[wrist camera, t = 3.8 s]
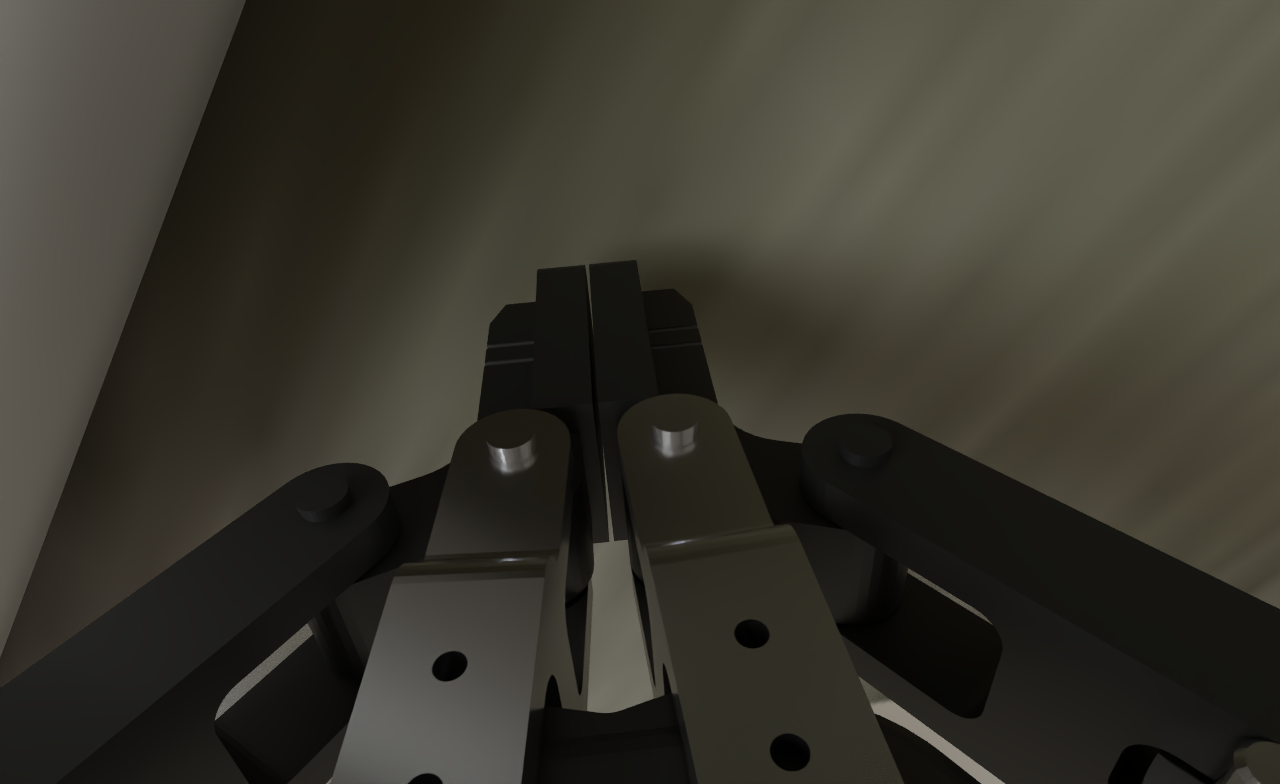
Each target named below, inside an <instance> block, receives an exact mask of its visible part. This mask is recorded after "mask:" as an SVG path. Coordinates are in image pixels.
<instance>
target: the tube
mask: <svg viewBox="0 0 1280 784" xmlns="http://www.w3.org/2000/svg"><path fill="white" fill-rule="evenodd" d="M245 2H246V0H0V657H1V655H2V652H3V649H4V647H5V644H6V641H7V639H8V636H9V633H10V631H11V628H12V625H13V623H14V620H15V617H16V615H17V612H18V609H19V606H20V604H21V601H22V598H23V596H24V593H25V590H26V588H27V585H28V582H29V580H30V577H31V574H32V572H33V569H34V566H35V564H36V561H37V558H38V556H39V553H40V550H41V548H42V545H43V542H44V540H45V537H46V534H47V532H48V529H49V526H50V524H51V521H52V518H53V516H54V513H55V510H56V507H57V505H58V502H59V499H60V497H61V494H62V491H63V489H64V486H65V483H66V481H67V478H68V475H69V473H70V470H71V467H72V465H73V462H74V459H75V457H76V454H77V451H78V449H79V446H80V443H81V441H82V438H83V435H84V433H85V430H86V427H87V425H88V422H89V419H90V416H91V414H92V411H93V408H94V406H95V403H96V400H97V398H98V395H99V392H100V390H101V387H102V384H103V382H104V379H105V376H106V374H107V371H108V368H109V366H110V363H111V360H112V358H113V355H114V352H115V350H116V347H117V344H118V342H119V339H120V336H121V334H122V331H123V328H124V326H125V323H126V320H127V317H128V315H129V312H130V309H131V307H132V304H133V301H134V299H135V296H136V293H137V291H138V288H139V285H140V283H141V280H142V277H143V275H144V272H145V269H146V267H147V264H148V261H149V259H150V256H151V253H152V251H153V248H154V245H155V243H156V240H157V237H158V235H159V232H160V229H161V226H162V224H163V221H164V218H165V216H166V213H167V210H168V208H169V205H170V202H171V200H172V197H173V194H174V192H175V189H176V186H177V184H178V181H179V178H180V176H181V173H182V170H183V168H184V165H185V162H186V160H187V157H188V154H189V152H190V149H191V146H192V144H193V141H194V138H195V136H196V133H197V130H198V127H199V125H200V122H201V119H202V117H203V114H204V111H205V109H206V106H207V103H208V101H209V98H210V95H211V93H212V90H213V87H214V85H215V82H216V79H217V77H218V74H219V71H220V69H221V66H222V63H223V61H224V58H225V55H226V53H227V50H228V47H229V45H230V42H231V39H232V37H233V34H234V31H235V28H236V26H237V23H238V20H239V18H240V15H241V12H242V10H243V7H244V4H245Z"/></svg>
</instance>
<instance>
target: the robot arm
mask: <svg viewBox="0 0 1280 784" xmlns="http://www.w3.org/2000/svg"><path fill="white" fill-rule="evenodd" d="M589 271H590V287H591V302H592V318H593V327H592V318H591V310H590V301H589V292H588V284H587V275H586V268H585V265H579V266H569V267H558V268H547V269H538V270H537V288H536V302H529V303H518V304H508V305H505V307H504V308H503V309H502V310H501V311H500V313H499V314H498V315H497V316H496V317H495V319H494V320H493V321H492V322H491V323H490V327H489V334H488V342H487V347H488V349H487V350H486V358H485V366H484V373H483V381H482V388H481V396H480V404H479V412H478V419H477V422H476V423H474V424H473V425H471V426H470V427H469V428H467V429H466V430H465V431H464V433H463V434H462V435H461V436H460V438H459V439H458V441H457V443H456V445H455V448H454V452H453V455H452V459H451V463H449V464H447V465H446V466H444V467H443V468H440V469H438V470H436V471H434V472H432V473H430V474H427V475H424V476H422V477H419V478H416V479H412V480H409V481H406V482H403V483H400V484H397V485H394V486H391V487H389V485H388V482H387V480H386V479H385V477H384V476H383V475H382V474H381V473H380V472H379V471H378V470H376V469H374V468H372V467H370V466H367V465H363V464H358V463H337V464H331V465H326V466H323V467H319V468H316V469H313V470H310V471H308V472H305V473H303V474H301V475H299V476H297V477H296V478H294V479H292V480H291V481H289V482H288V483H286V484H285V485H283V486H282V487H281V488H279V489H278V490H276V491H275V492H274V493H272V494H271V495H270V496H268V497H267V498H265V499H264V500H263V501H261V502H260V503H258V504H257V505H256V506H254V507H253V508H251V509H250V510H249V511H247V512H246V513H244V514H243V515H242V516H240V517H239V518H237V519H236V520H235V521H233V522H232V523H230V524H229V525H228V526H226V527H225V528H223V529H222V530H221V531H219V532H218V533H217V534H215V535H214V536H212V537H211V538H210V539H208V540H207V541H205V542H204V543H203V544H201V545H200V546H198V547H197V548H196V549H194V550H193V551H191V552H190V553H189V554H187V555H186V556H184V557H183V558H182V559H180V560H179V561H177V562H176V563H175V564H173V565H172V566H170V567H169V568H168V569H166V570H165V571H164V572H162V573H161V574H159V575H158V576H157V577H155V578H154V579H152V580H151V581H150V582H148V583H147V584H145V585H144V586H143V587H141V588H140V589H138V590H137V591H136V592H134V593H133V594H131V595H130V596H129V597H127V598H126V599H124V600H123V601H122V602H120V603H119V604H117V605H116V606H115V607H113V608H112V609H111V610H109V611H108V612H106V613H105V614H104V615H102V616H101V617H99V618H98V619H97V620H95V621H94V622H92V623H91V624H90V625H88V626H87V627H85V628H84V629H83V630H81V631H80V632H78V633H77V634H76V635H74V636H73V637H71V638H70V639H69V640H67V641H66V642H65V643H63V644H62V645H60V646H59V647H58V648H56V649H55V650H53V651H52V652H51V653H49V654H48V655H46V656H45V657H44V658H42V659H41V660H39V661H38V662H37V663H35V664H34V665H32V666H31V667H30V668H28V669H27V670H25V671H24V672H23V673H21V674H20V675H18V676H17V677H16V678H14V679H13V680H12V681H10V682H9V683H7V684H6V685H5V686H3V687H2V688H0V784H326V783H327V782H328V781H329V780H330V779H331V778H332V780H331V783H330V784H981V783H980V782H978V781H977V780H976V779H975V778H973V777H972V776H971V775H969V774H968V773H967V772H966V771H964V770H963V769H962V768H961V767H959V766H958V765H957V764H956V763H954V762H953V761H952V760H950V759H949V758H948V757H947V756H945V755H944V754H943V753H942V752H940V751H939V750H938V749H936V748H935V747H934V746H932V745H931V744H929V743H928V742H927V741H925V740H924V739H922V738H920V737H919V736H917V735H915V734H914V733H912V732H911V731H909V730H908V729H906V728H904V727H902V726H900V725H898V724H896V723H894V722H892V721H890V720H888V719H886V718H884V717H882V716H880V715H877V714H874V712H873V710H872V708H871V705H870V703H869V700H868V698H867V696H866V693H865V691H864V689H863V686H862V684H861V682H860V679H859V677H861V678H862V679H863V680H865V681H866V682H867V683H869V684H870V685H872V686H873V687H874V688H876V689H877V690H878V691H880V692H881V693H882V694H884V695H885V696H887V697H888V698H889V699H891V700H892V701H893V702H895V703H896V704H897V705H899V706H900V707H902V708H903V709H904V710H906V711H907V712H909V713H910V714H911V715H913V716H914V717H915V718H917V719H918V720H919V721H921V722H922V723H923V724H925V725H926V726H927V727H929V728H930V729H932V730H933V731H934V732H936V733H937V734H938V735H940V736H941V737H943V738H944V739H945V740H947V741H948V742H950V743H951V744H952V745H954V746H955V747H956V748H958V749H959V750H960V751H962V752H963V753H964V754H966V755H967V756H969V757H970V758H971V759H973V760H974V761H975V762H977V763H978V764H979V765H981V766H982V767H984V768H985V769H986V770H988V771H989V772H990V773H992V774H993V775H994V776H996V777H997V778H998V779H1000V780H1001V781H1003V782H1004V783H1005V784H1280V609H1278V608H1276V607H1274V606H1272V605H1270V604H1268V603H1266V602H1264V601H1262V600H1260V599H1258V598H1256V597H1254V596H1252V595H1250V594H1248V593H1245V592H1243V591H1241V590H1239V589H1237V588H1235V587H1233V586H1231V585H1229V584H1227V583H1225V582H1223V581H1221V580H1219V579H1217V578H1215V577H1213V576H1211V575H1209V574H1207V573H1205V572H1202V571H1200V570H1198V569H1196V568H1194V567H1192V566H1190V565H1188V564H1186V563H1184V562H1182V561H1180V560H1178V559H1176V558H1174V557H1172V556H1170V555H1168V554H1166V553H1164V552H1162V551H1160V550H1157V549H1155V548H1153V547H1151V546H1149V545H1147V544H1145V543H1143V542H1141V541H1139V540H1137V539H1135V538H1133V537H1131V536H1129V535H1127V534H1125V533H1123V532H1121V531H1119V530H1117V529H1115V528H1112V527H1110V526H1108V525H1106V524H1104V523H1102V522H1100V521H1098V520H1096V519H1094V518H1092V517H1090V516H1088V515H1086V514H1084V513H1082V512H1080V511H1078V510H1076V509H1074V508H1072V507H1070V506H1067V505H1065V504H1063V503H1061V502H1059V501H1057V500H1055V499H1053V498H1051V497H1049V496H1047V495H1045V494H1043V493H1041V492H1039V491H1037V490H1035V489H1033V488H1031V487H1029V486H1027V485H1024V484H1022V483H1020V482H1018V481H1016V480H1014V479H1012V478H1010V477H1008V476H1006V475H1004V474H1002V473H1000V472H998V471H996V470H994V469H992V468H990V467H988V466H986V465H984V464H982V463H979V462H977V461H975V460H973V459H971V458H969V457H967V456H965V455H963V454H961V453H959V452H957V451H955V450H953V449H951V448H949V447H947V446H945V445H943V444H941V443H939V442H937V441H934V440H932V439H930V438H928V437H926V436H924V435H922V434H920V433H918V432H916V431H914V430H912V429H910V428H908V427H906V426H904V425H902V424H900V423H897V422H895V421H893V420H890V419H887V418H884V417H880V416H875V415H869V414H845V415H838V416H834V417H830V418H828V419H825V420H823V421H821V422H819V423H818V424H816V425H815V426H813V427H812V428H811V429H810V430H809V431H808V433H807V434H806V435H805V437H804V440H803V443H802V444H801V443H793V442H785V441H777V440H771V439H765V438H761V437H758V436H754V435H752V434H749V433H747V432H745V431H743V430H741V429H739V428H737V427H736V426H735V425H733V423H732V420H731V418H730V416H729V415H728V413H727V412H726V411H725V410H724V409H723V408H722V407H721V406H719V405H718V403H717V399H716V395H715V391H714V388H713V384H712V380H711V376H710V372H709V368H708V365H707V361H706V357H705V353H704V349H703V345H702V344H701V338H700V334H699V330H698V328H697V322H696V319H695V315H694V311H693V307H692V304H691V303H689V302H688V301H687V300H686V299H685V298H684V297H683V296H682V295H680V294H679V293H678V292H677V291H676V290H675V289H664V290H653V291H643V292H641V286H640V280H639V274H638V268H637V262H636V260H631V261H620V262H609V263H599V264H589ZM593 333H594V336H593ZM602 441H603V442H602ZM603 450H604V457H603ZM604 458H605V467H606V475H607V484H608V492H609V501H610V509H611V518H612V526H613V535H614V541H618V540H628V545H629V555H630V563H631V573H632V583H633V592H634V597H635V602H636V607H637V612H638V618H639V623H640V628H641V633H642V639H643V644H644V649H645V654H646V660H647V665H648V670H649V675H650V680H651V686H652V691H653V696H654V699H652V700H649V701H646V702H644V703H641V704H638V705H635V706H632V707H630V708H627V709H624V710H621V711H617V712H613V713H596V712H589V711H587V701H588V681H589V662H590V643H591V624H592V604H593V587H592V581H591V577H592V574H593V570H594V553H593V543H602V542H609V531H608V516H607V501H606V486H605V472H604ZM908 568H909V569H911V570H912V571H914V572H916V573H917V574H919V575H921V576H922V577H924V578H926V579H927V580H929V581H931V582H932V583H934V584H935V585H937V586H939V587H940V588H942V589H944V590H945V591H947V592H949V593H950V594H952V595H954V596H955V597H957V598H958V599H960V600H962V601H963V602H965V603H967V604H968V605H970V606H972V607H973V608H975V609H976V610H978V611H979V612H981V613H982V614H983V615H984V616H985V617H986V618H987V619H988V620H989V621H990V622H991V623H992V624H993V625H992V624H990V623H988V622H987V621H985V620H984V619H982V618H980V617H979V616H977V615H975V614H974V613H972V612H970V611H969V610H967V609H966V608H964V607H962V606H961V605H959V604H957V603H956V602H954V601H953V600H951V599H949V598H948V597H946V596H944V595H943V594H941V593H940V592H938V591H936V590H935V589H933V588H931V587H930V586H928V585H926V584H925V583H923V582H922V581H920V580H918V579H917V578H915V577H913V576H912V575H910V574H909V573H907V572H908ZM307 623H308V624H309V627H310V629H311V631H312V633H313V635H312V636H311V637H310V638H308V639H307V640H306V641H305V642H304V643H303V644H302V645H300V646H299V647H298V648H297V649H296V650H295V651H294V652H293V653H291V654H290V655H289V656H288V657H287V658H286V659H285V660H283V661H282V662H281V663H280V664H279V665H278V666H277V667H276V668H274V669H273V670H272V671H271V672H270V673H269V674H268V675H267V676H265V677H264V678H263V679H262V680H261V681H260V682H259V683H257V684H256V685H255V686H254V687H253V688H252V689H251V690H250V691H248V692H247V693H246V694H245V695H244V696H243V697H242V698H240V699H239V700H238V701H237V702H236V703H235V704H234V705H233V706H231V707H230V708H229V709H228V710H227V711H226V712H225V713H223V714H222V715H221V716H220V717H219V718H218V719H217V720H215V717H216V713H217V711H218V708H219V706H220V704H221V702H222V701H223V699H224V698H225V696H226V695H227V694H228V693H229V692H230V690H231V689H232V688H233V687H234V686H235V685H236V684H238V683H239V682H240V681H241V680H242V679H243V678H245V677H246V676H247V675H248V674H249V673H250V672H251V671H253V670H254V669H255V668H256V667H257V666H258V665H260V664H261V663H262V662H263V661H264V660H265V659H266V658H268V657H269V656H270V655H271V654H272V653H273V652H274V651H276V650H277V649H278V648H279V647H280V646H281V645H283V644H284V643H285V642H286V641H287V640H288V639H289V638H291V637H292V636H293V635H294V634H295V633H296V632H298V631H299V630H300V629H301V628H302V627H303V626H304V625H306V624H307ZM858 676H859V677H858Z"/></svg>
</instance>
